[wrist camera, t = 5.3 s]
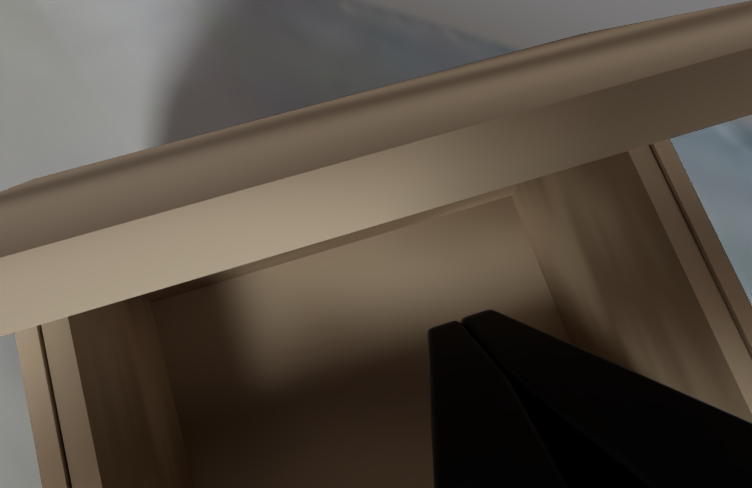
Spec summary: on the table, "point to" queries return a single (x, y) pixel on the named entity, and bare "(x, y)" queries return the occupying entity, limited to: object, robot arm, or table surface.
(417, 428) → the carton
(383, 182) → the carton flap
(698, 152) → the table surface
